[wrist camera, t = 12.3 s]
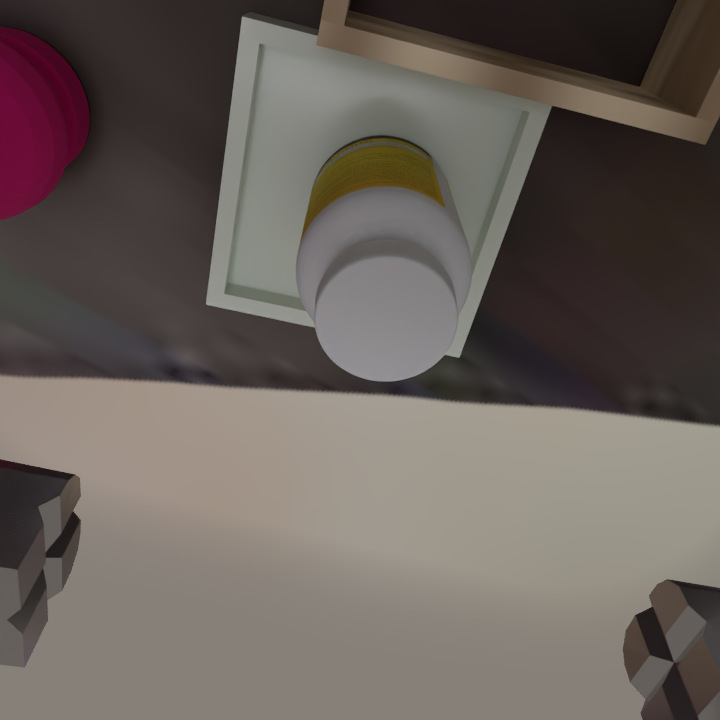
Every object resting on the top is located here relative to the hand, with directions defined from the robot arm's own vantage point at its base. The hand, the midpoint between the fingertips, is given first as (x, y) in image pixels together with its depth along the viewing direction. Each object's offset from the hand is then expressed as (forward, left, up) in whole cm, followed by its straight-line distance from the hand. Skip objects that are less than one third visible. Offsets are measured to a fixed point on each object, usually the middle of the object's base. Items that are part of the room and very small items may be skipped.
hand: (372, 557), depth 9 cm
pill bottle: (-1, +3, -24) cm, 25 cm away
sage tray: (0, +3, -25) cm, 25 cm away
